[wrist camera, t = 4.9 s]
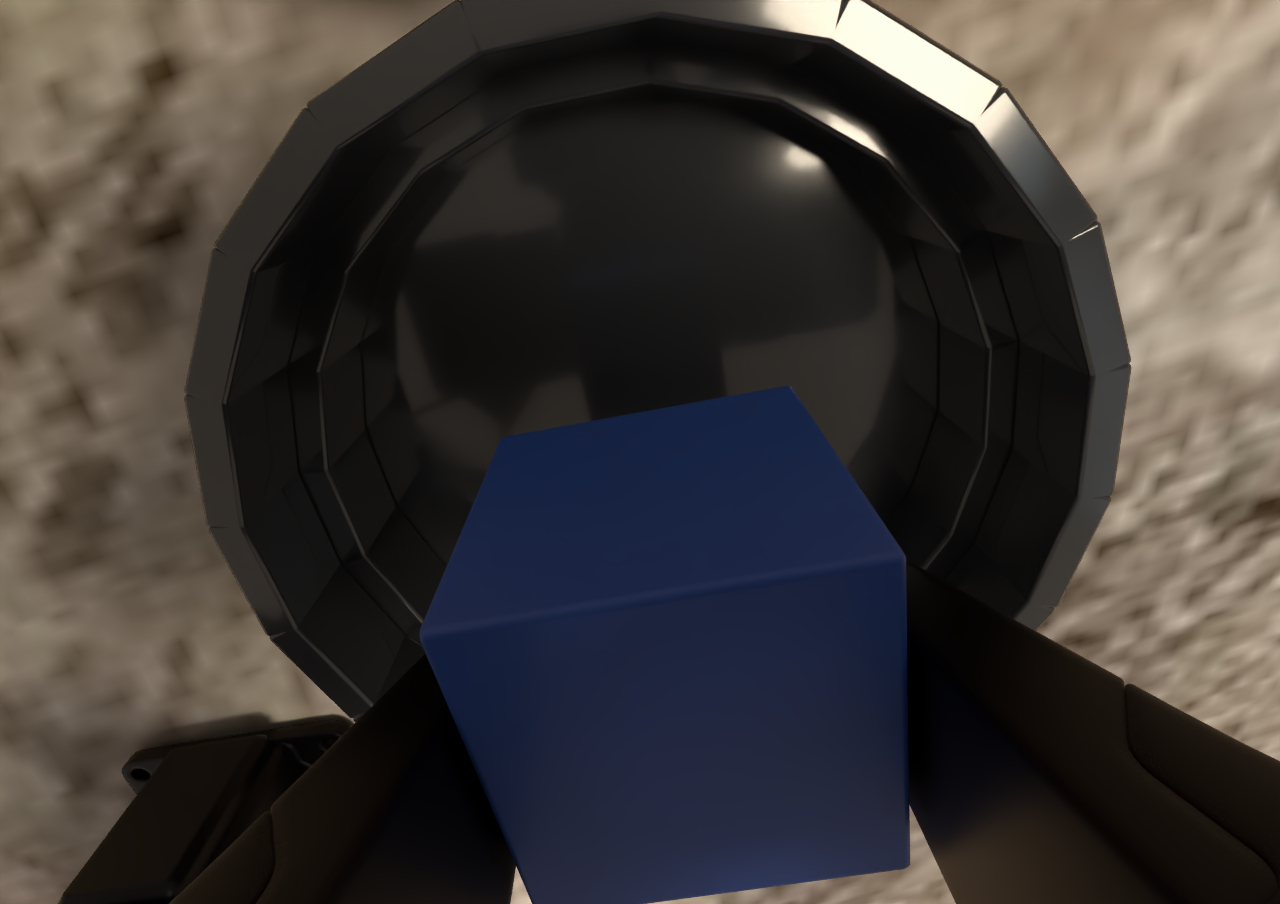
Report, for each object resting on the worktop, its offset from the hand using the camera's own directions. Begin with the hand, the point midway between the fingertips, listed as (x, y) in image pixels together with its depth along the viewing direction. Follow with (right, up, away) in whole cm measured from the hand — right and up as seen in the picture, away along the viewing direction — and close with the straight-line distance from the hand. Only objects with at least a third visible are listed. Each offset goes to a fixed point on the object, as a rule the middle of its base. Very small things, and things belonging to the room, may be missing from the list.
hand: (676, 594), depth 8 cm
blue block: (0, +1, +1) cm, 1 cm away
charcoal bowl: (0, +3, +6) cm, 7 cm away
